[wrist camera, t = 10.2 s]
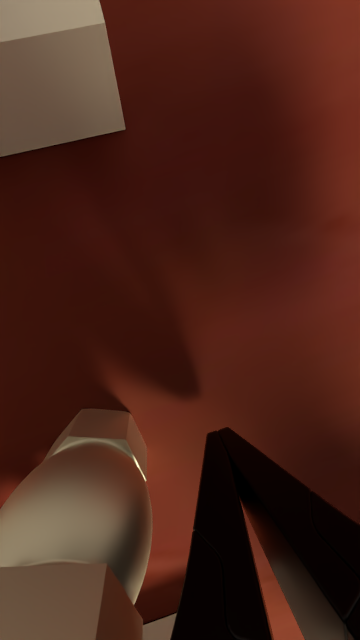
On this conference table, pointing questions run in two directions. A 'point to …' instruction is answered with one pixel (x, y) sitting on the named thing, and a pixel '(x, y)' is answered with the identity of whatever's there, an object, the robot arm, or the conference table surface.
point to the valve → (78, 536)
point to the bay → (58, 94)
